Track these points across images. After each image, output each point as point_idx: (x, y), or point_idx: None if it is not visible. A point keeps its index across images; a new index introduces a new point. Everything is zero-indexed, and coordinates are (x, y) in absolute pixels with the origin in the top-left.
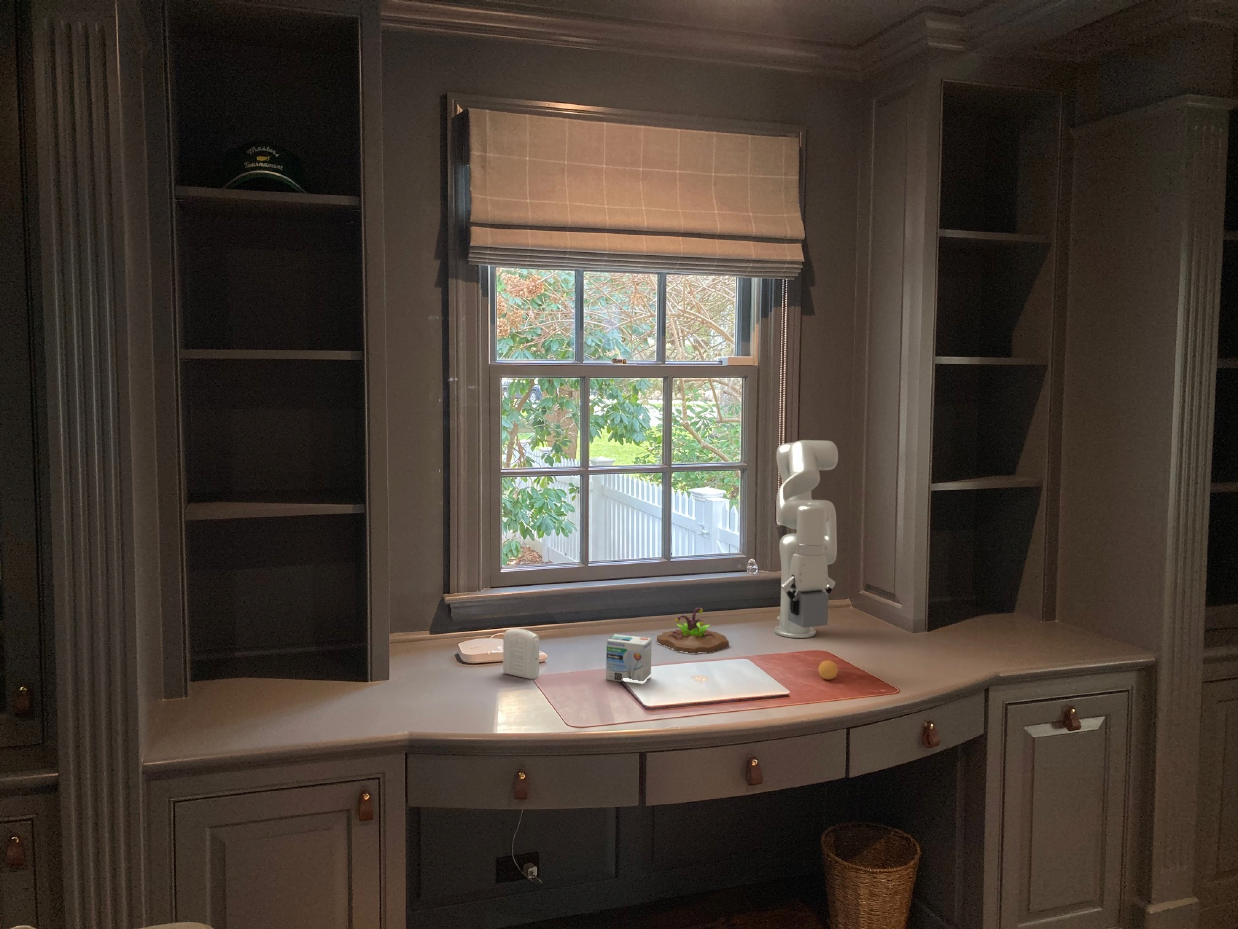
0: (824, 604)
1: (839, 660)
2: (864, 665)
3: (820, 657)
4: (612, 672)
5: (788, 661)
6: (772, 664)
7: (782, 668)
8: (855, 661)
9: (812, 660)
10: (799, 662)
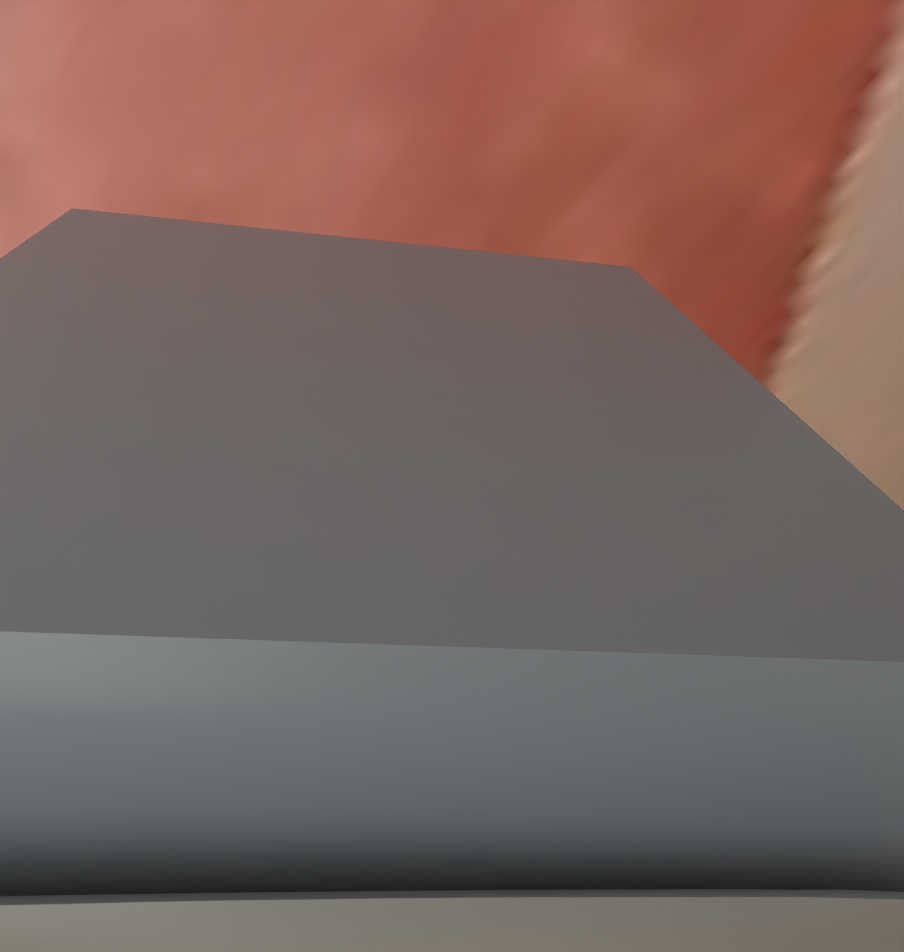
0: None
1: (775, 241)
2: (831, 439)
3: (698, 71)
4: None
5: (292, 27)
6: (55, 37)
7: (96, 208)
8: (865, 326)
9: (551, 121)
10: (383, 116)
